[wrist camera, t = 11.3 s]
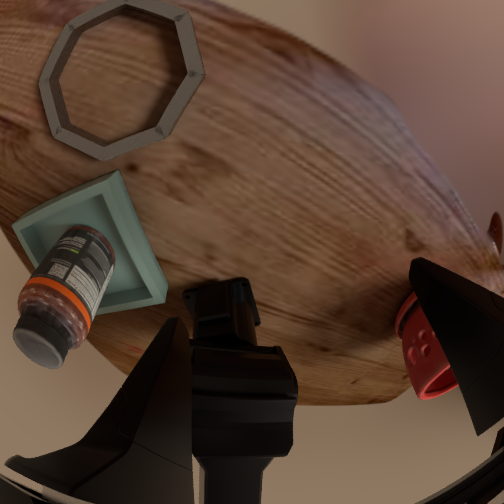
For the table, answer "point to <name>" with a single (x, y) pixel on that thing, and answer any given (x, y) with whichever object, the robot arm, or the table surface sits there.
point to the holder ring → (49, 79)
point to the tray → (112, 227)
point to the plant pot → (423, 352)
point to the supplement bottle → (63, 296)
